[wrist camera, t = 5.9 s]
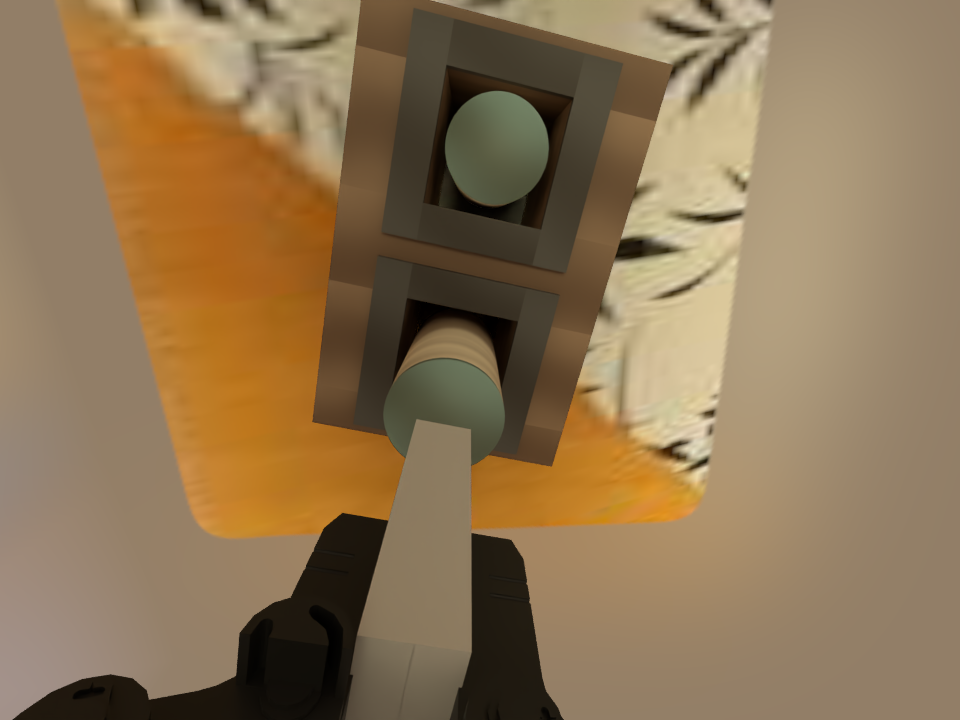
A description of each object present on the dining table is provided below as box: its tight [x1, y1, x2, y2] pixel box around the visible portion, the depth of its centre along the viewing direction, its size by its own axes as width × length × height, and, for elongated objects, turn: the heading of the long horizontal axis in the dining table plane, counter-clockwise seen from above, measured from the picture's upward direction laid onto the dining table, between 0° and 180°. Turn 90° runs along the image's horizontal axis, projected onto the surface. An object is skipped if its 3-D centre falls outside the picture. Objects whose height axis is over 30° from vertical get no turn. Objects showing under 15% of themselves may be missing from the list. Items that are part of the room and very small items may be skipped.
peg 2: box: [445, 91, 549, 209], centre depth 21 cm, size 4×4×8 cm
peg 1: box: [383, 309, 505, 466], centre depth 19 cm, size 4×4×8 cm
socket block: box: [313, 0, 673, 467], centre depth 23 cm, size 18×12×8 cm, turn 168°
